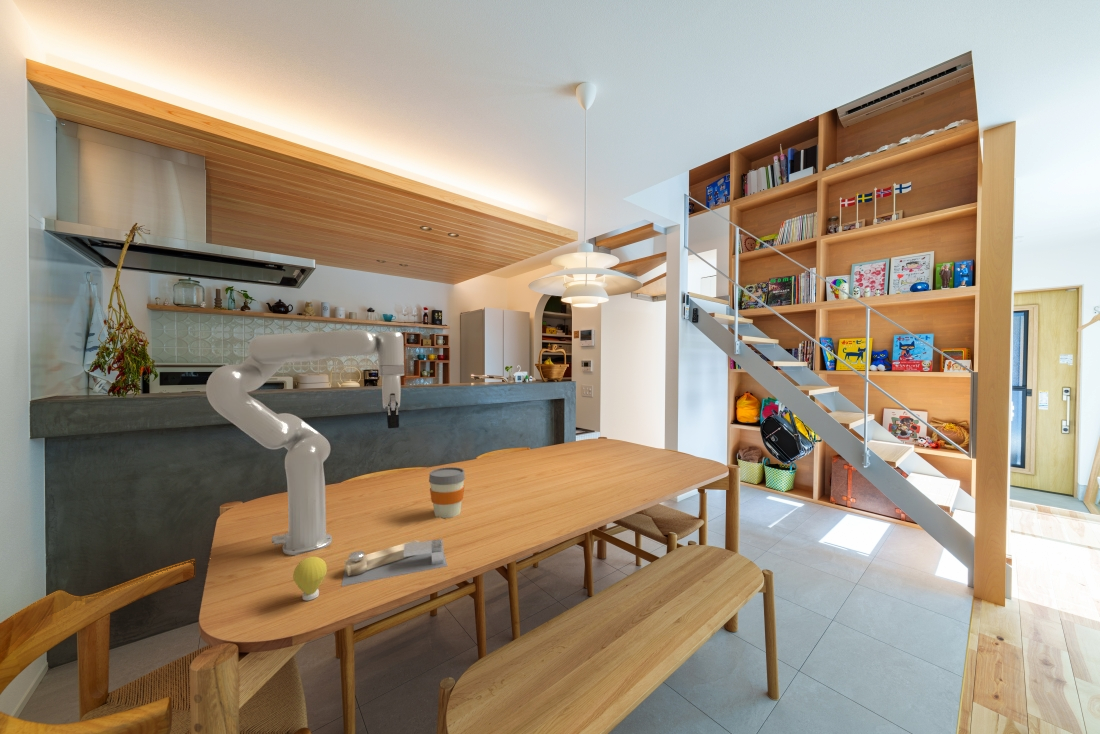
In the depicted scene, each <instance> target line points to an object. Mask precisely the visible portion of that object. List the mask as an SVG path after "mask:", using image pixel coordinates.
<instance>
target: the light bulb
mask: <svg viewBox="0 0 1100 734" xmlns="http://www.w3.org/2000/svg"><path fill="white" fill-rule="evenodd" d="M327 572H328V566H327V563H326V561H325V560H323V559H322V558H321V557H318V556H309V557H307V558H304V559H303V560H301V561H300V562H299V563H298V564H297V565H296V567H295V568H294V570H293V576H292V580H293V582H294V583H295V585H296V586H297V587H298V588H299V590H301V591H302V592H303V593H302V600H303V601H312V600H315V599H316V598H317V597H319V595H320V590H319V588H320V585H321V584H322V582H323V581H324V578H325V577H326V574H327Z"/></svg>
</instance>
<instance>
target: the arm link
mask: <svg viewBox="0 0 1100 734" xmlns="http://www.w3.org/2000/svg"><path fill="white" fill-rule="evenodd" d="M415 542H420V541H419V540H418V539H415V540H411V541H408V542H404V543H401V544H398V545H395V546H391V547H387V548H384V549H381V550H377V551H375V552H370V553H368V554H364V557H362V560H361V561H358V562H352V561H351V560H350V559H349V558H348V559H346V560H345V561H344V572H346V574H347V575H348V576H350V575H358V574H361V573H363V572H365V571H366V570H369V569H372V568H375V567H378V566H381V565H385V564H388V563H391V562H394V561H397V560H400V559H403V558H407V557H410V556H406V557H404V545H405V544H407V543H415Z"/></svg>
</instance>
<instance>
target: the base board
mask: <svg viewBox="0 0 1100 734" xmlns="http://www.w3.org/2000/svg"><path fill="white" fill-rule="evenodd" d="M445 567H448V563H447V560H446V555H445V551H444V550H443V563H442V564H435V565H432V553H428V554H421V555H414V556H410V557H407V558H403V559H400V560H397V561H394V562H391V563H388V564H385V565H381V566H378V567H375V568H372V569H369V570H366V571H365V572H363V573H361V574H358V575H350V576H348V575H347V574H346V572H345V571H344V572H343V577H342V582H341V586H340V587H345V586H346V587H347V586H350V585H356V584H362V583H367V582H373V581H377V580H381V579H387V578H393V577H398V576H404V575H408V574H409V575H410V574H414V573H419V572H423V571H424V572H425V571H429V570H435V569H440V568H445Z"/></svg>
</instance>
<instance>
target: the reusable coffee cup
mask: <svg viewBox="0 0 1100 734" xmlns="http://www.w3.org/2000/svg"><path fill="white" fill-rule="evenodd" d="M428 477H429V479H428V482H429V483H430V487H429V493H430V499H431V503H432V505H433V511H434V516H435V517H436V518H441V519H449V518H450V519H451V518H454V517H457V516H458V515H460V514H461V510H462V509H461V508H462V500H463V499H464V494H465V493H464V491H465V483H464V482H465V480H466V477H465V470H464V468H461V467H454V466H452V467H451V466H450V467H440V468H436V469H434V470H431V471H430V472H429V476H428Z"/></svg>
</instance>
